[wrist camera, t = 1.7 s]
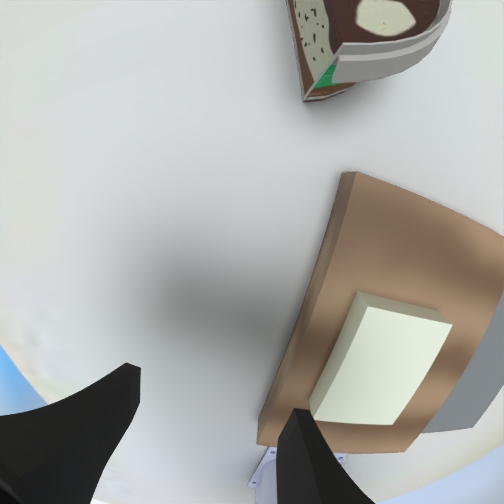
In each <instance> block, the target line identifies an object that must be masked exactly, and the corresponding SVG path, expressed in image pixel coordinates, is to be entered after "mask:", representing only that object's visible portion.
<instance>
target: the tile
mask: <svg viewBox="0 0 504 504" xmlns="http://www.w3.org/2000/svg"><path fill="white" fill-rule="evenodd" d="M452 325H453V324H451V323H450V322H449V321H448V320H447V319H446V318H445V317H444V316H443V315H442V314H441V313H440V312H438V311H437V310H433V309H429V308H425V307H421V306H416V305H412V304H408V303H404V302H400V301H396V300H391V299H387V298H383V297H379V296H375V295H371V294H367V293H363V292H359V291H357V292H356V295H355V298H354V300H353V303H352V305H351V308H350V310H349V313H348V315H347V318H346V320H345V323H344V325H343V327H342V330H341V332H340V334H339V337H338V339H337V341H336V344H335V346H334V348H333V350H332V353H331V355H330V357H329V359H328V361H327V363H326V365H325V368H324V370H323V372H322V374H321V376H320V378H319V380H318V382H317V384H316V386H315V388H314V390H313V392H312V394H311V396H310V398H309V402H310V409H311V414H312V416H313V418H314V420H319V421H329V422H340V423H354V424H376V425H392V424H393V423H394V422H395V420H396V419H397V418H398V416H399V415H400V413H401V412H402V411H403V409H404V408H405V406H406V405H407V403H408V402H409V400H410V399H411V398H412V396H413V394H414V393H415V391H416V390H417V388H418V387H419V385H420V384H421V382H422V380H423V379H424V377H425V375H426V374H427V372H428V370H429V369H430V367H431V365H432V363H433V362H434V360H435V358H436V356H437V355H438V353H439V351H440V349H441V347H442V345H443V343H444V341H445V339H446V337H447V335H448V333H449V331H450V329H451V327H452Z"/></svg>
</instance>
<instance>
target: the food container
mask: <svg viewBox="0 0 504 504" xmlns="http://www.w3.org/2000/svg"><path fill="white" fill-rule="evenodd" d="M452 1H453V0H286V4H287V8H288V13H289V19H290V24H291V29H292V35H293V41H294V47H295V53H296V59H297V65H298V72H299V79H300V86H301V93H302V101H303V102H311V101H321V100H324V99H326V98H329V97H332V96H335V95H337V94H340V93H343V92H344V91H346V90H347V89H348V88H350V87H351V86H353V85H354V84H356V83H357V82H362V81H367V80H374V79H380V78H384V77H387V76H390V75H393V74H396V73H400V72H403V71H404V70H406V69H408V68H410V67H412V66H413V65H415V64H417V63H419V62H420V61H421V60H422V59H423V58H424V57H425V56H426V55H428V54H429V53H430V51H431V50H432V48H433V47H434V45H435V44H436V42H437V41H438V39H439V37H440V36H441V34H442V32H443V31H444V29H445V27H446V26H447V24H448V21H449V17H450V14H451V5H452Z"/></svg>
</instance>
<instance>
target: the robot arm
mask: <svg viewBox="0 0 504 504" xmlns="http://www.w3.org/2000/svg"><path fill="white" fill-rule="evenodd" d="M140 376H141V368H140V367H137V366H135V365H132V364H129V363H125V364H123V365H121V366H120V367H118V368H117V369H115V370H114V371H112V372H111V373H109V374H108V375H106V376H105V377H103V378H101V379H100V380H98V381H97V382H95V383H93V384H91V385H90V386H88V387H86V388H85V389H83V390H81V391H79V392H77V393H75V394H73V395H71V396H69V397H67V398H65V399H62V400H60V401H58V402H55V403H52V404H50V405H47V406H44V407H41V408H38V409H34V410H31V411H27V412H22V413H17V414H11V415H4V416H0V504H90V502H91V500H92V497H93V494H94V492H95V489H96V487H97V484H98V482H99V479H100V477H101V475H102V472H103V470H104V468H105V466H106V464H107V462H108V460H109V458H110V457H111V455H112V453H113V452H114V450H115V448H116V447H117V445H118V444H119V442H120V440H121V439H122V437H123V435H124V434H125V432H126V430H127V429H128V427H129V425H130V424H131V422H132V420H133V417H134V415H135V413H136V410H137V408H138V406H139V403H140ZM347 455H348V453H333V452H332V450H331V449H330V447H329V446H328V444H327V442H326V440H325V439H324V437H323V435H322V433H321V431H320V429H319V428H318V426H317V424H316V422H315V420H314V418H313V416H312V414H311V412H310V411H309V410H306V409H299V408H294V409H293V411H292V413H291V415H290V417H289V419H288V421H287V422H286V424H285V426H284V428H283V430H282V432H281V434H280V435H279V437H278V443H277V448H276V447H269V448H268V450H267V452H266V453H265V455H264V457H263V459H262V460H261V462H260V464H259V466H258V467H257V469H256V471H255V472H254V474H253V476H252V477H251V479H250V481H249V482H248V487H250V488H256V495H255V504H375V503H374V502H373V501H372V500H371V499H370V498H369V497H367V496H366V495H365V494H364V493H363V492H362V491H361V490H360V488H359V487H358V486H357V485H356V484H355V483H354V482H353V480H352V479H351V478H350V477H349V475H348V474H347V473H346V471H345V470H344V469H343V467H342V466H341V464H340V463H341V462H342V461H343V460H344V459H345V457H346V456H347Z"/></svg>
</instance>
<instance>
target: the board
mask: <svg viewBox="0 0 504 504" xmlns="http://www.w3.org/2000/svg"><path fill="white" fill-rule="evenodd" d="M503 290H504V237H503V236H502V235H500V234H498V233H496V232H494V231H493V230H491V229H489V228H487V227H485V226H483V225H481V224H479V223H477V222H475V221H473V220H471V219H469V218H467V217H465V216H463V215H461V214H459V213H457V212H455V211H453V210H451V209H449V208H446V207H444V206H442V205H440V204H438V203H435V202H433V201H431V200H429V199H426V198H424V197H422V196H419V195H417V194H415V193H412V192H410V191H407V190H405V189H402V188H400V187H397V186H395V185H392V184H389V183H387V182H384V181H381V180H379V179H376V178H373V177H371V176H368V175H365V174H362V173H359V172H346V173H342V176H341V180H340V184H339V187H338V191H337V195H336V198H335V202H334V206H333V209H332V213H331V216H330V220H329V223H328V227H327V230H326V233H325V237H324V240H323V243H322V246H321V250H320V253H319V256H318V259H317V263H316V266H315V269H314V272H313V275H312V278H311V281H310V284H309V287H308V290H307V293H306V296H305V299H304V302H303V305H302V308H301V310H300V313H299V316H298V319H297V322H296V325H295V327H294V330H293V333H292V336H291V338H290V341H289V344H288V346H287V349H286V352H285V354H284V357H283V359H282V362H281V365H280V367H279V370H278V372H277V375H276V377H275V380H274V382H273V385H272V387H271V390H270V392H269V395H268V397H267V399H266V402H265V404H264V407H263V409H262V411H261V414H260V416H259V418H258V431H257V445H263V446H269V447H276V448H277V443H278V437H279V435H280V434H281V432H282V430H283V428H284V426H285V424H286V422H287V421H288V419H289V417H290V415H291V413H292V411H293V409H294V408H299V409H306V410H309V411H310V412H311V409H310V402H309V398H310V396H311V394H312V392H313V390H314V388H315V386H316V384H317V382H318V380H319V378H320V376H321V374H322V372H323V370H324V368H325V365H326V363H327V361H328V359H329V357H330V355H331V353H332V350H333V348H334V346H335V344H336V341H337V339H338V337H339V334H340V332H341V330H342V327H343V325H344V323H345V320H346V318H347V315H348V313H349V310H350V308H351V305H352V303H353V300H354V298H355V295H356V292H357V291H359V292H363V293H367V294H371V295H375V296H379V297H383V298H387V299H391V300H396V301H400V302H404V303H408V304H412V305H416V306H421V307H425V308H429V309H433V310H437V311H438V312H440V313H441V314H442V315H443V316H444V317H445V318H446V319H447V320H448V321H449V322H450V323H451V324H453V325H452V327H451V329H450V331H449V333H448V335H447V337H446V339H445V341H444V343H443V345H442V347H441V349H440V351H439V353H438V355H437V356H436V358H435V360H434V362H433V363H432V365H431V367H430V369H429V370H428V372H427V374H426V375H425V377H424V379H423V380H422V382H421V384H420V385H419V387H418V388H417V390H416V391H415V393H414V394H413V396H412V398H411V399H410V400H409V402H408V403H407V405H406V406H405V408H404V409H403V411H402V412H401V413H400V415H399V416H398V418H397V419H396V420H395V422H394V423H393V424H392V425H376V424H354V423H340V422H329V421H319V420H315V422H316V424H317V426H318V428H319V429H320V431H321V433H322V435H323V437H324V439H325V440H326V442H327V444H328V446H329V447H330V449H331V450H332V452H333V453H349V454H373V453H397V452H405V451H406V450H407V448H408V447H409V446H410V445H411V444H412V443H413V442H414V440H415V439H416V438H417V437H418V436H419V434H420V433H421V432H422V431H423V429H424V428H425V427H426V426H427V424H428V423H429V422H430V421H431V419H432V418H433V417H434V415H435V414H436V413H437V411H438V410H439V408H440V407H441V406H442V404H443V403H444V401H445V400H446V399H447V397H448V396H449V394H450V393H451V391H452V390H453V388H454V387H455V385H456V383H457V382H458V380H459V379H460V377H461V375H462V374H463V372H464V370H465V369H466V367H467V365H468V364H469V362H470V360H471V358H472V357H473V355H474V353H475V351H476V349H477V347H478V346H479V344H480V342H481V340H482V338H483V336H484V334H485V332H486V330H487V328H488V325H489V323H490V321H491V319H492V317H493V314H494V312H495V310H496V308H497V305H498V303H499V300H500V298H501V295H502V293H503Z"/></svg>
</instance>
